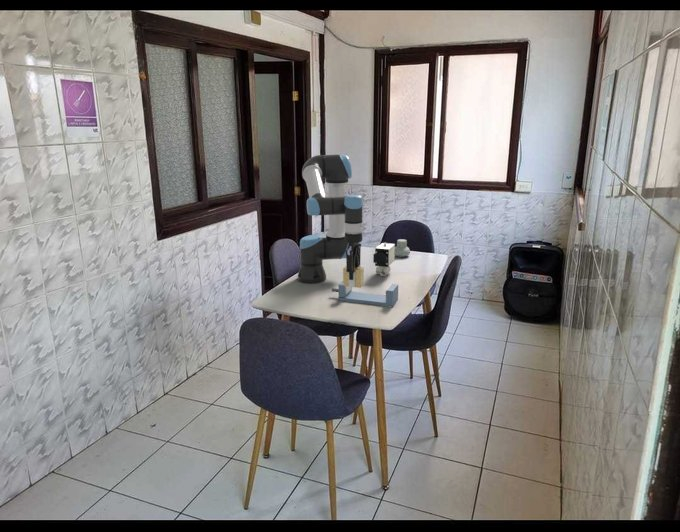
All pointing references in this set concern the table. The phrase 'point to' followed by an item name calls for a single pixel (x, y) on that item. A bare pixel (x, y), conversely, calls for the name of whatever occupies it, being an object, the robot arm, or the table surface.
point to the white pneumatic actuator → (384, 258)
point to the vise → (374, 297)
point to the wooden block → (358, 277)
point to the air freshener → (402, 248)
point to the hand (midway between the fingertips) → (353, 284)
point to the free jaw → (342, 290)
